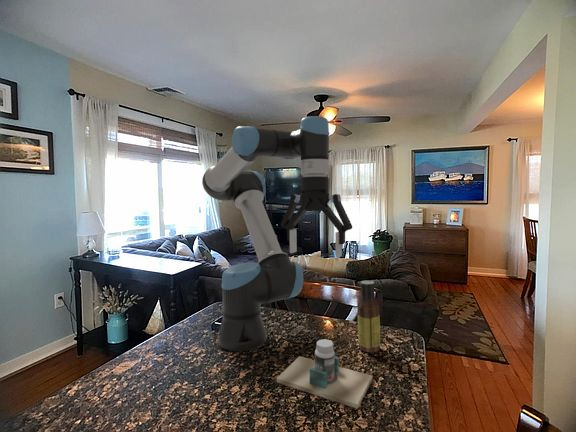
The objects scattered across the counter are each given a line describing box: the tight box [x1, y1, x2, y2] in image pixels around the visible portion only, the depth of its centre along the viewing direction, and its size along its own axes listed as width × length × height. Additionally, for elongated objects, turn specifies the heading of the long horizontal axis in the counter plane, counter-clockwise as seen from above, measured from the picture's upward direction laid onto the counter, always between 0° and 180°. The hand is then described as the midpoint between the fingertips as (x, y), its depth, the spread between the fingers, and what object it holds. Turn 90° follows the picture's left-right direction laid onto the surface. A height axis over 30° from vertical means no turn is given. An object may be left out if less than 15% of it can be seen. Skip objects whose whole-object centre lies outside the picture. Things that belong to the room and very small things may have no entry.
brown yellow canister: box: [357, 280, 381, 354], centre depth 93 cm, size 7×6×20 cm
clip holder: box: [276, 355, 373, 410], centre depth 77 cm, size 20×12×4 cm, turn 61°
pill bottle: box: [314, 339, 336, 381], centre depth 77 cm, size 5×5×8 cm
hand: (315, 254), depth 88 cm, fingers open, 13 cm apart
